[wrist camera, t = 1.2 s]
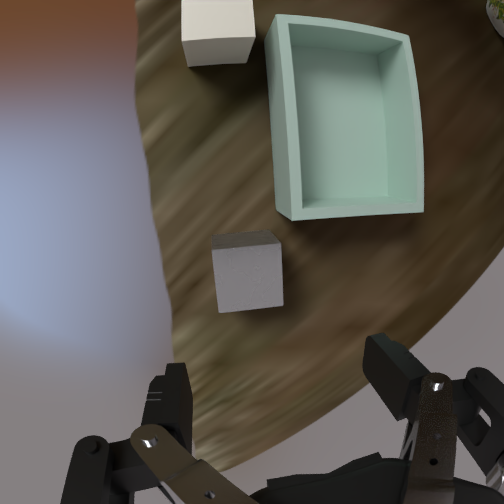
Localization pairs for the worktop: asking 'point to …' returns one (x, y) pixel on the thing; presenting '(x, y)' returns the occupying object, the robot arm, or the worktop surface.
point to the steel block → (247, 270)
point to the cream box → (217, 31)
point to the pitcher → (496, 14)
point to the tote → (343, 119)
